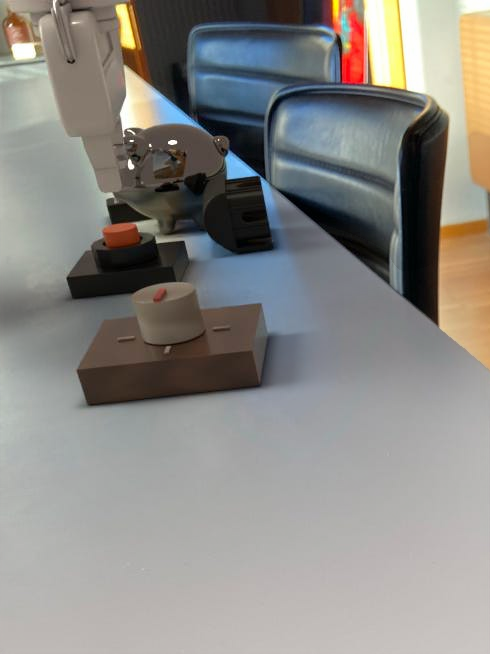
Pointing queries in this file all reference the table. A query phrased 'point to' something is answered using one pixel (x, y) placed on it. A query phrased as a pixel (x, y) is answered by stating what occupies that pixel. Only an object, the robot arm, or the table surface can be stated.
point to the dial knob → (168, 313)
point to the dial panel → (175, 358)
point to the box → (127, 267)
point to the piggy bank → (170, 172)
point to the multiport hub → (122, 212)
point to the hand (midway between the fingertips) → (115, 178)
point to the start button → (121, 234)
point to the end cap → (236, 214)
